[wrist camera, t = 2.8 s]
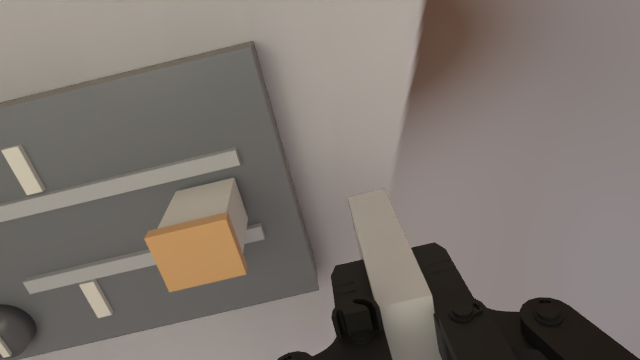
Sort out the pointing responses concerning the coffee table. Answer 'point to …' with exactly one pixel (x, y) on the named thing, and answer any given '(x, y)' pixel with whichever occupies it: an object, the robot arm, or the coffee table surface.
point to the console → (137, 200)
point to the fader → (201, 236)
